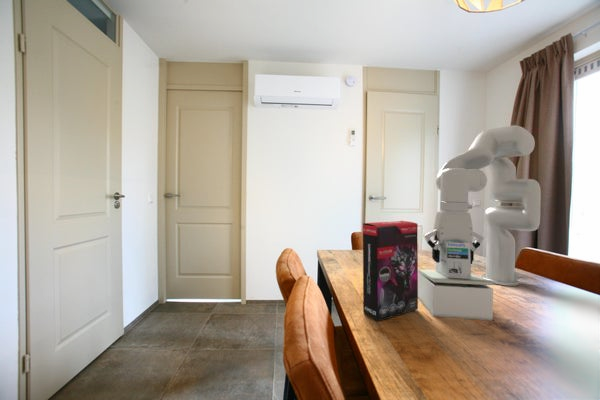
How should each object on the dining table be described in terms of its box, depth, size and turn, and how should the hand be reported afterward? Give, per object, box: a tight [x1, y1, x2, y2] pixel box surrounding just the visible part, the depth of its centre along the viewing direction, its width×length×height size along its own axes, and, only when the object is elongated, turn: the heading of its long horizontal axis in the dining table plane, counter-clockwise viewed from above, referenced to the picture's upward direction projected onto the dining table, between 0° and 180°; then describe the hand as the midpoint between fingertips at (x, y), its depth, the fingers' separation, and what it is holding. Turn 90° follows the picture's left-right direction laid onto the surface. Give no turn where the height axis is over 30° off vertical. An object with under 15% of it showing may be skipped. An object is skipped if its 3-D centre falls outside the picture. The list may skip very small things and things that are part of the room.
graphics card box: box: [362, 220, 419, 322], centre depth 77 cm, size 17×7×27 cm, turn 117°
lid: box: [418, 268, 494, 286], centre depth 80 cm, size 16×14×1 cm
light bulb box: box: [435, 241, 472, 279], centre depth 81 cm, size 11×7×11 cm, turn 169°
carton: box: [418, 272, 494, 321], centre depth 80 cm, size 16×14×9 cm
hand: (452, 262), depth 80 cm, fingers open, 9 cm apart
